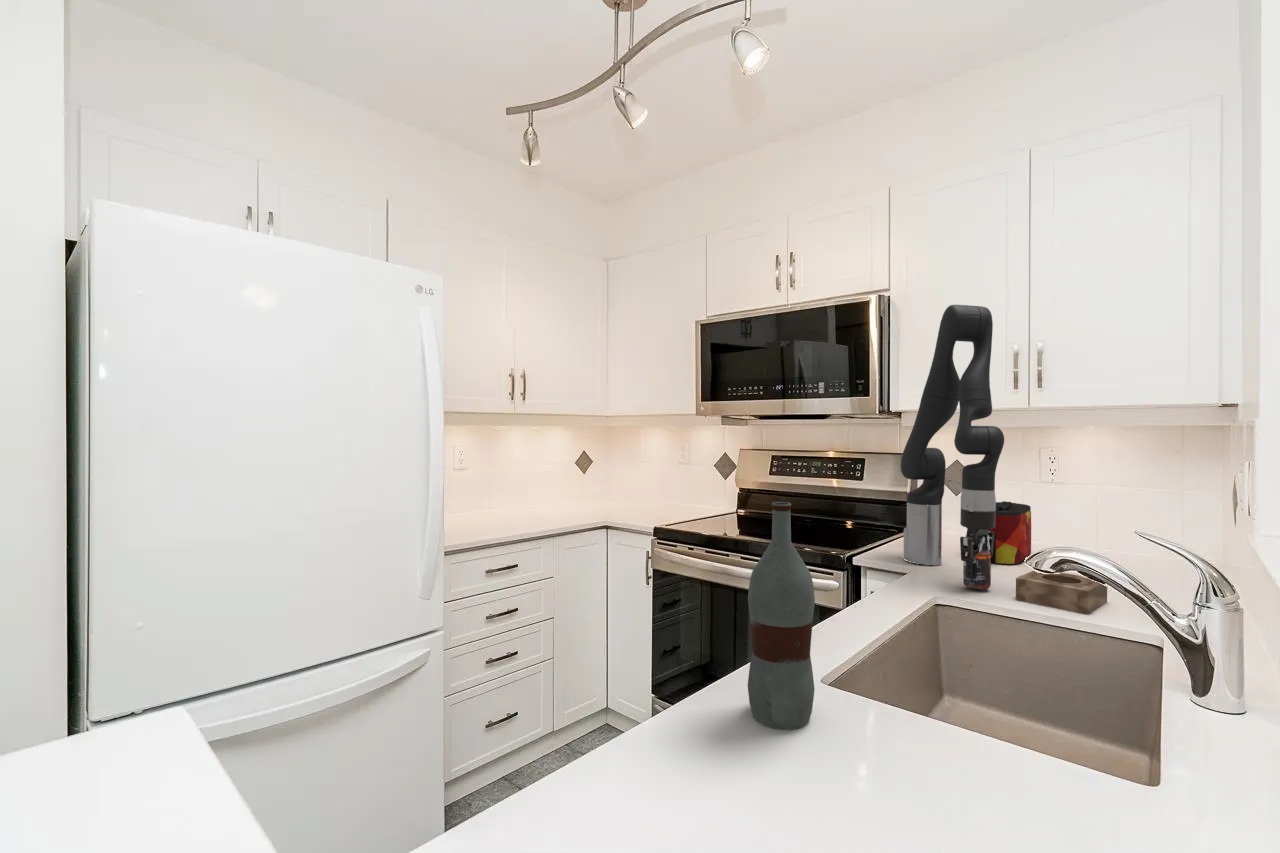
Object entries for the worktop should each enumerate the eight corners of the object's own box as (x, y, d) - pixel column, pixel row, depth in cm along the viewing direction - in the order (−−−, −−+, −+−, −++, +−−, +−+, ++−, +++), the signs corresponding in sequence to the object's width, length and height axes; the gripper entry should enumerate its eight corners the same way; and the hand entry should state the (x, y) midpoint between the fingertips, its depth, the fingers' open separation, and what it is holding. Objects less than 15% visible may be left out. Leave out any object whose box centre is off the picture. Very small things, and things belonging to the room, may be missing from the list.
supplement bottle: (984, 583, 154) (984, 538, 154) (995, 590, 148) (996, 543, 148) (958, 582, 154) (959, 537, 154) (969, 589, 149) (969, 542, 148)
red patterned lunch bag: (1015, 570, 170) (1015, 511, 170) (960, 562, 180) (960, 506, 179) (1036, 553, 193) (1037, 500, 192) (987, 546, 202) (987, 496, 202)
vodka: (771, 694, 94) (772, 497, 93) (827, 715, 87) (828, 503, 87) (734, 715, 87) (734, 503, 87) (791, 739, 81) (792, 510, 80)
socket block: (1015, 599, 143) (1015, 577, 143) (1037, 588, 152) (1037, 568, 152) (1088, 614, 132) (1088, 591, 132) (1107, 601, 141) (1107, 580, 141)
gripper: (974, 503, 158) (973, 568, 159) (948, 508, 149) (947, 578, 149) (1006, 506, 152) (1005, 574, 153) (981, 512, 143) (980, 584, 144)
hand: (976, 575), depth 151 cm, fingers closed on supplement bottle, 6 cm apart
